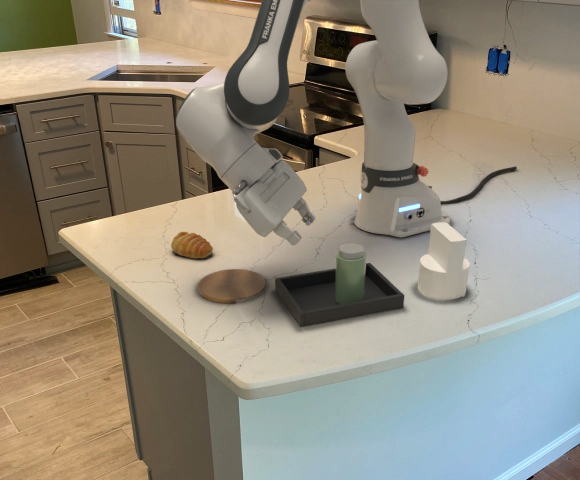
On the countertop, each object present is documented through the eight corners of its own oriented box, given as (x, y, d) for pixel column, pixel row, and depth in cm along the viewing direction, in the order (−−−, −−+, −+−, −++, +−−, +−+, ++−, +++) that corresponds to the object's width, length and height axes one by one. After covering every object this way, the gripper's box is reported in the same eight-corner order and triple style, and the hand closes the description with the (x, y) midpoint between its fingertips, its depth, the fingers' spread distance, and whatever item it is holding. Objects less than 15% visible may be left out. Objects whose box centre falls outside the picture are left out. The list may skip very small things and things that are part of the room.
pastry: (220, 252, 136) (219, 236, 134) (198, 263, 131) (197, 247, 129) (190, 242, 141) (188, 226, 139) (168, 253, 136) (165, 236, 134)
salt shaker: (357, 290, 118) (359, 240, 113) (369, 303, 114) (371, 251, 108) (330, 295, 117) (331, 244, 111) (341, 308, 112) (343, 256, 107)
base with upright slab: (473, 299, 116) (483, 238, 109) (428, 304, 114) (434, 243, 108) (453, 277, 123) (460, 220, 117) (410, 283, 122) (415, 224, 115)
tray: (369, 276, 124) (370, 262, 123) (403, 310, 113) (404, 295, 111) (275, 292, 119) (274, 278, 118) (300, 329, 107) (300, 314, 106)
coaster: (255, 268, 129) (255, 265, 128) (273, 296, 118) (273, 292, 118) (192, 278, 125) (192, 274, 125) (206, 308, 115) (205, 304, 114)
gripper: (240, 180, 98) (301, 244, 101) (280, 146, 115) (331, 202, 117) (216, 205, 102) (275, 266, 104) (258, 168, 118) (308, 222, 121)
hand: (305, 231), depth 111 cm, fingers open, 8 cm apart
